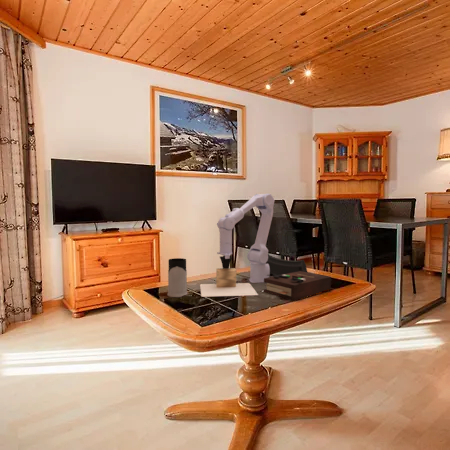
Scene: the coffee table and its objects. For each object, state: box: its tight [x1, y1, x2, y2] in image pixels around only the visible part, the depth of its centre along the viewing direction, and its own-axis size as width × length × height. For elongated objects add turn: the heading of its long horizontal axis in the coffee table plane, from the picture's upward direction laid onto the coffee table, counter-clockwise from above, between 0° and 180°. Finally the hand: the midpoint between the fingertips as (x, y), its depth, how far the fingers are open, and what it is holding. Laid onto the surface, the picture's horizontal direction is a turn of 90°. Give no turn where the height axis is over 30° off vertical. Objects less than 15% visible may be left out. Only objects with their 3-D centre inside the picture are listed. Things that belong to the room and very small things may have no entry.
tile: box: [215, 267, 237, 287], centre depth 154 cm, size 9×3×8 cm, turn 96°
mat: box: [199, 282, 259, 298], centre depth 149 cm, size 24×22×1 cm
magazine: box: [266, 254, 308, 276], centre depth 178 cm, size 17×3×30 cm
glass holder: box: [167, 257, 188, 298], centre depth 144 cm, size 9×14×15 cm, turn 5°
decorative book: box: [263, 271, 332, 302], centre depth 146 cm, size 19×8×30 cm
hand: (225, 271), depth 155 cm, fingers closed
